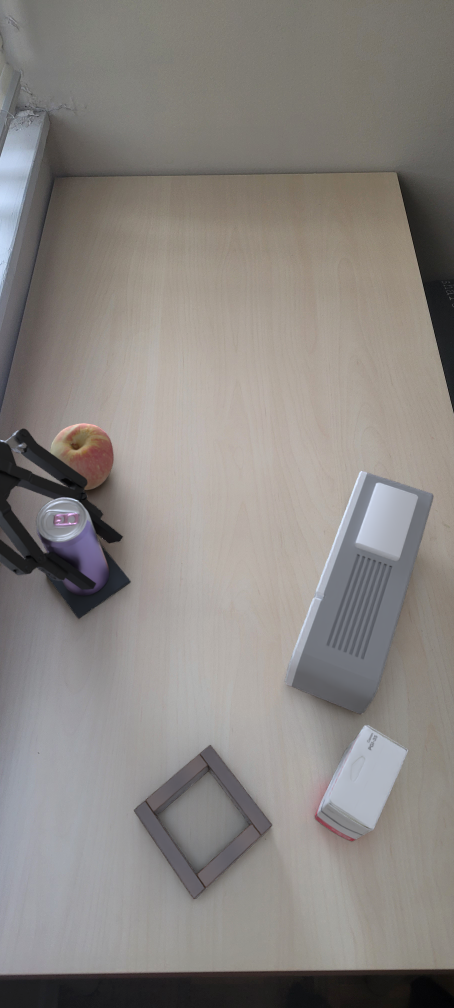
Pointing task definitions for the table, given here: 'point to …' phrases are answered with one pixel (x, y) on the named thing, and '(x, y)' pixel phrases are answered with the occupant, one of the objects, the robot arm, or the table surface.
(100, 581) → the beverage can
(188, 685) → the table surface
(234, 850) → the holder
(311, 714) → the table surface
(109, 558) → the coaster
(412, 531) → the alarm clock
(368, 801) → the ink box
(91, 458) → the apple
